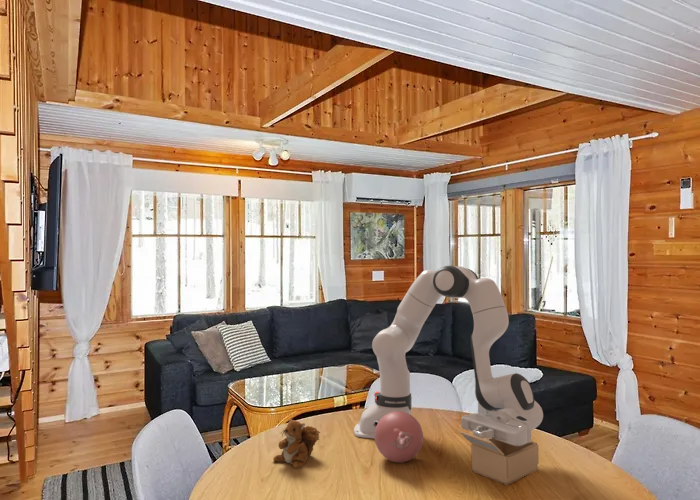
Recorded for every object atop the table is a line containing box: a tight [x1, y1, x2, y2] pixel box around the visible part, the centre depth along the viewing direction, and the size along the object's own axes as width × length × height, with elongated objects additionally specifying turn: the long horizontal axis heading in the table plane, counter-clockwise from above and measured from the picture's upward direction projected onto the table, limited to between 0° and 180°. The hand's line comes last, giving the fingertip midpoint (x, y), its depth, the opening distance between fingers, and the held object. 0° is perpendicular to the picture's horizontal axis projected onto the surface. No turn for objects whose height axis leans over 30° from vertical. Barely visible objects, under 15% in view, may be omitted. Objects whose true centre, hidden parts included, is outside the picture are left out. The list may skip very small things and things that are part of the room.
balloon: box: [374, 411, 424, 464], centre depth 158 cm, size 15×20×15 cm
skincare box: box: [477, 402, 497, 417], centre depth 194 cm, size 6×4×12 cm
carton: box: [470, 438, 540, 486], centre depth 152 cm, size 16×13×8 cm
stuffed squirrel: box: [273, 418, 321, 469], centre depth 162 cm, size 10×14×13 cm
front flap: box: [459, 430, 504, 456], centre depth 145 cm, size 8×11×1 cm
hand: (476, 434), depth 144 cm, fingers closed, pressing on front flap
